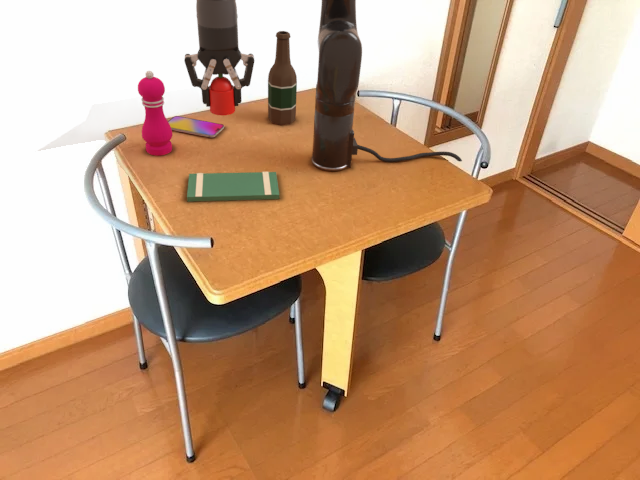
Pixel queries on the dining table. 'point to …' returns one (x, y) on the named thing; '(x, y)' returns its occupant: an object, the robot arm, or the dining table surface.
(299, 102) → the dining table surface
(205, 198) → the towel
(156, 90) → the pepper mill
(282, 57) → the beer bottle
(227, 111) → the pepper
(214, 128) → the smartphone
